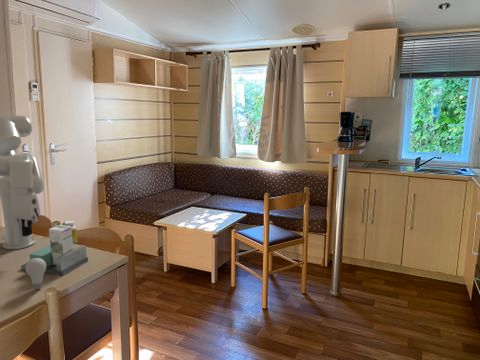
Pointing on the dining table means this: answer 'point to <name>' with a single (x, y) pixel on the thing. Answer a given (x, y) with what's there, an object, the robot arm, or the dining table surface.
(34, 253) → the teal green rectangular block
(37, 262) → the lightbulb
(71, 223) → the supplement bottle
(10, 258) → the dining table surface
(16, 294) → the dining table surface
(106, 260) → the dining table surface
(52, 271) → the base
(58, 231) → the syrup box
